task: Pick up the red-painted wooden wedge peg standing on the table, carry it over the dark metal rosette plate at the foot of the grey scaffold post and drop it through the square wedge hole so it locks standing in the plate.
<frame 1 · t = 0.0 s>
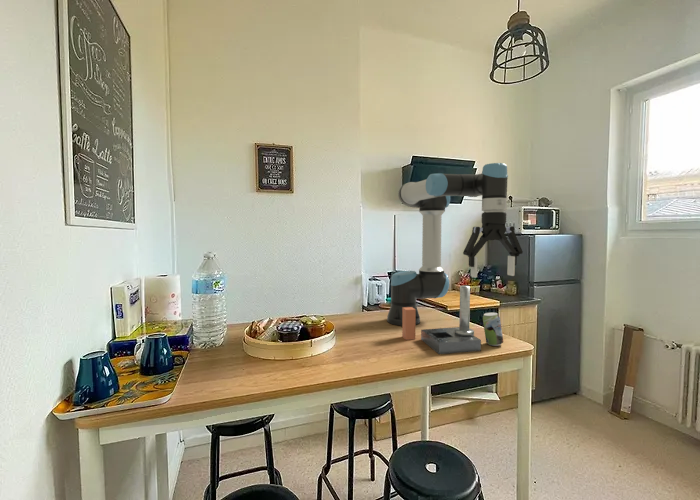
hand: (492, 276, 115), 28 cm above the table, fingers open, 13 cm apart
wedge peg: (408, 337, 139), on the table
beverage can: (492, 345, 131), on the table
rosette plate: (449, 344, 131), on the table
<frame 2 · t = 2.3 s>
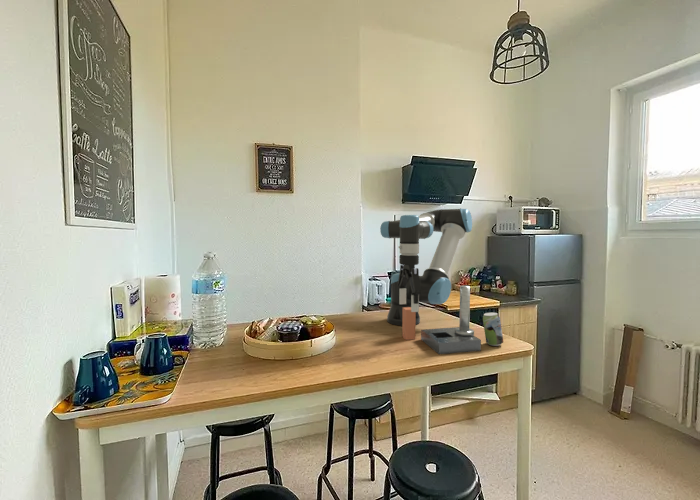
hand: (408, 307, 138), 12 cm above the table, fingers open, 13 cm apart
nothing on the table moved.
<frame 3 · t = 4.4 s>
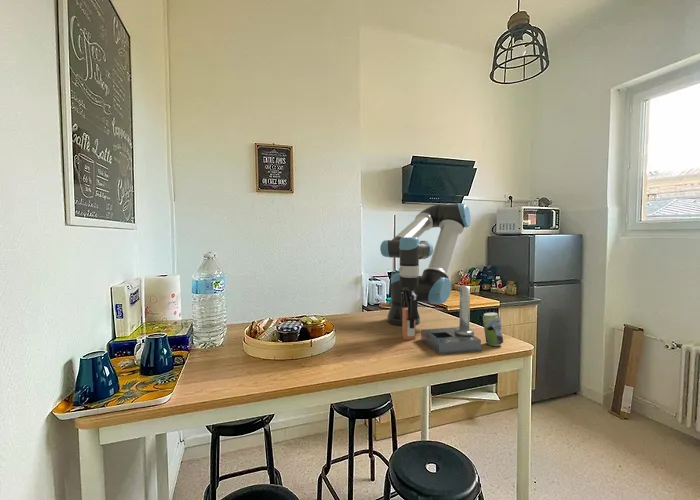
hand: (408, 333, 139), 2 cm above the table, fingers closed on wedge peg, 4 cm apart
wedge peg: (408, 337, 139), on the table, touching gripper
everything else where it was.
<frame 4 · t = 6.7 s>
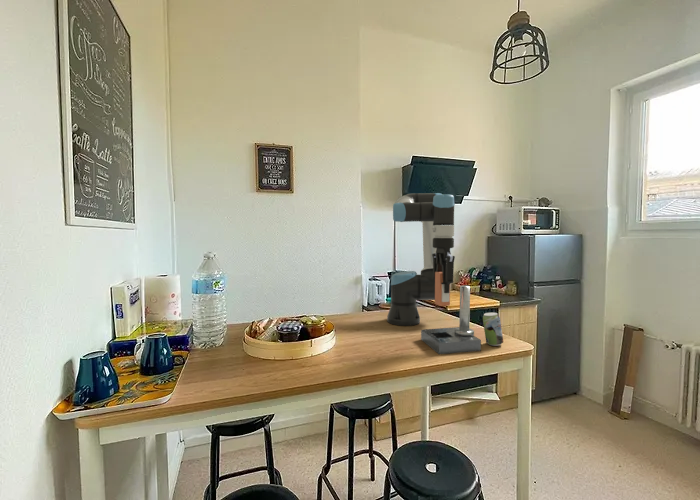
hand: (442, 300, 129), 17 cm above the table, fingers closed on wedge peg, 4 cm apart
wedge peg: (442, 304, 129), point 16 cm above the table, touching gripper
everything else where it was.
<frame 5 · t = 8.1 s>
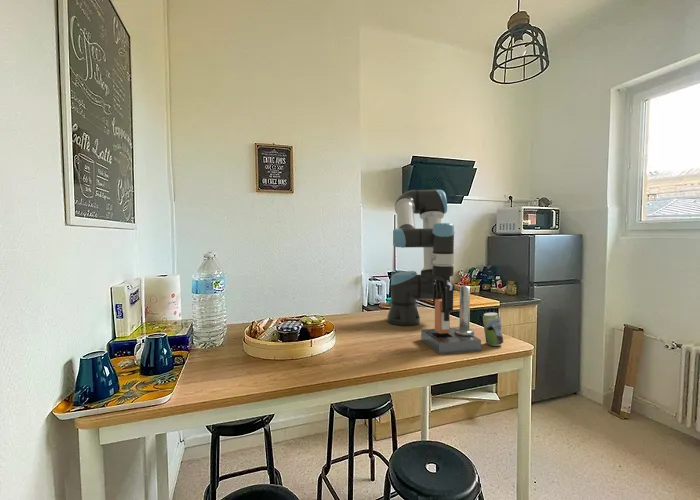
hand: (442, 327, 130), 7 cm above the table, fingers closed on wedge peg, 4 cm apart
wedge peg: (442, 331, 130), point 5 cm above the table, touching gripper
everything else where it was.
when the fingers open (5 cm above the table, at t = 9.1 s): wedge peg drops 3 cm, resting in rosette plate.
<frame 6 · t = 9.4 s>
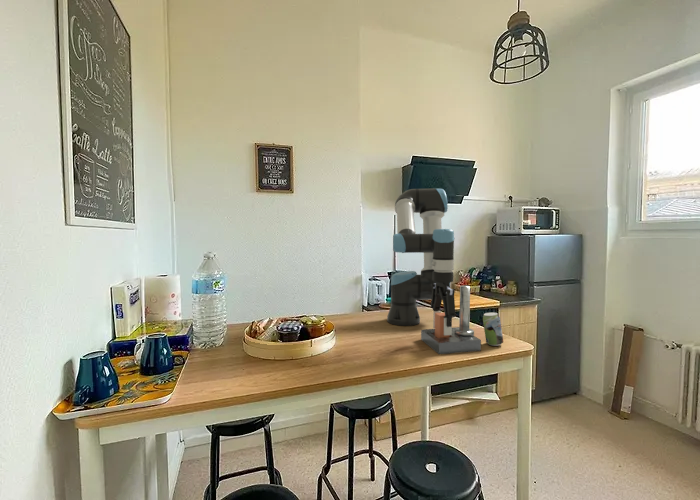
hand: (442, 331, 130), 5 cm above the table, fingers open, 8 cm apart
wedge peg: (441, 345, 130), resting in rosette plate
everything else where it was.
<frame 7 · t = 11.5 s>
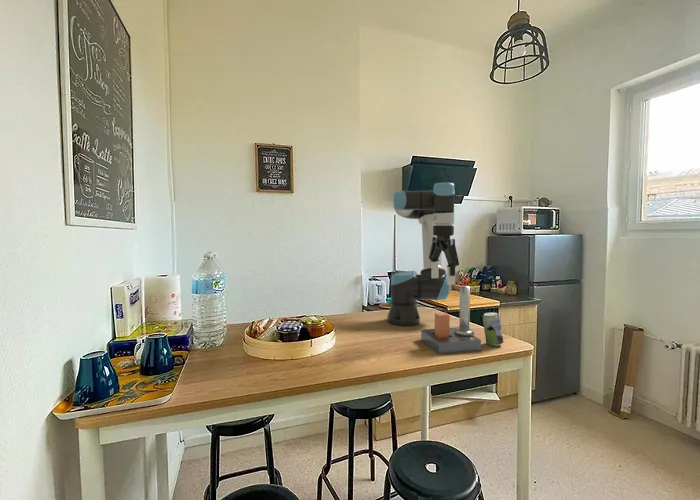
hand: (442, 281, 131), 24 cm above the table, fingers open, 13 cm apart
nothing on the table moved.
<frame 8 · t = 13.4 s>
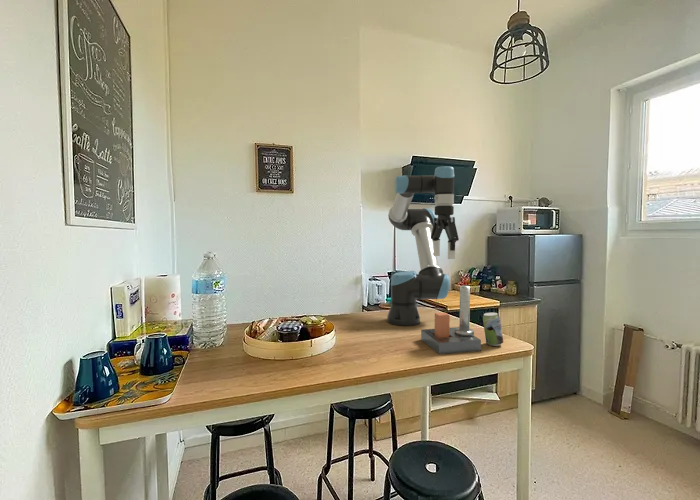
hand: (443, 257, 143), 32 cm above the table, fingers open, 13 cm apart
nothing on the table moved.
at the end: wedge peg 0.1 cm from the target spot on the rosette plate, point 0.0 cm above the rosette plate's base; wedge peg tilted 0°; the gripper is holding nothing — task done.
